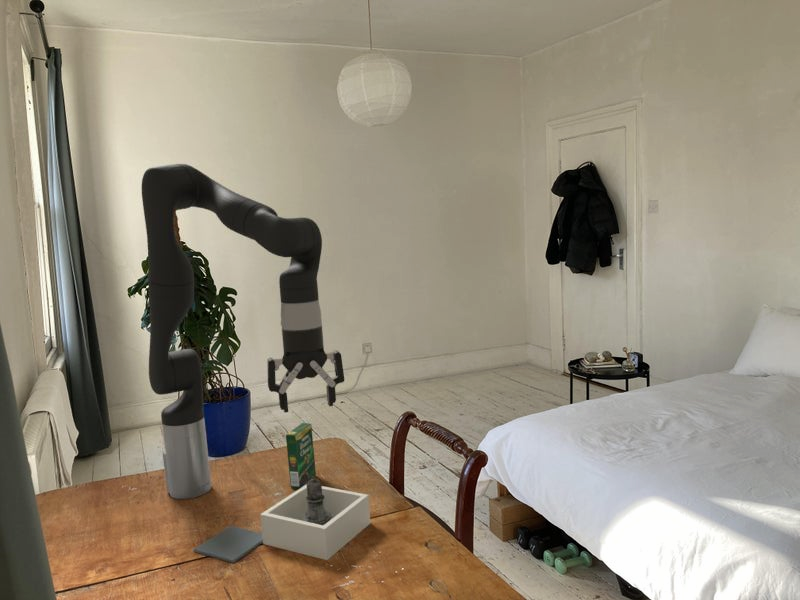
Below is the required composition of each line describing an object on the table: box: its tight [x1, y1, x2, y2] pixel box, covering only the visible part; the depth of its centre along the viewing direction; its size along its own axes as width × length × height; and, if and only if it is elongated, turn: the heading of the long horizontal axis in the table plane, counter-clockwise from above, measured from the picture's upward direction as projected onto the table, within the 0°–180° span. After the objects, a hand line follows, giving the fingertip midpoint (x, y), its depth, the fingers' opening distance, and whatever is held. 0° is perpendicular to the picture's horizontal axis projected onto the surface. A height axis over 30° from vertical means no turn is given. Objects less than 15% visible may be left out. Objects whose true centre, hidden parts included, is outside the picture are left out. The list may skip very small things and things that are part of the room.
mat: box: [193, 525, 263, 564], centre depth 124 cm, size 10×10×1 cm
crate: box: [260, 483, 371, 561], centre depth 126 cm, size 15×15×6 cm
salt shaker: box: [301, 475, 332, 525], centre depth 126 cm, size 6×6×12 cm
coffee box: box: [285, 422, 317, 490], centre depth 151 cm, size 8×3×13 cm, turn 159°
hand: (308, 408), depth 124 cm, fingers open, 8 cm apart
